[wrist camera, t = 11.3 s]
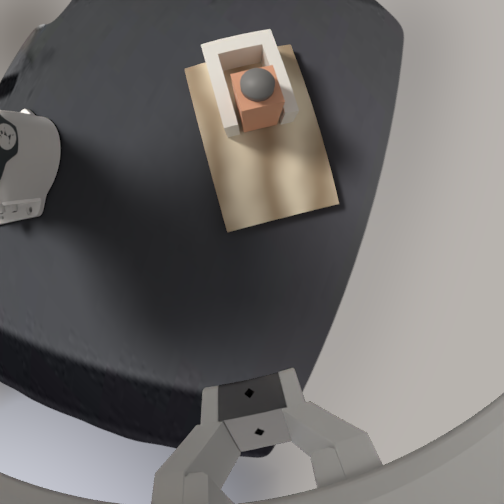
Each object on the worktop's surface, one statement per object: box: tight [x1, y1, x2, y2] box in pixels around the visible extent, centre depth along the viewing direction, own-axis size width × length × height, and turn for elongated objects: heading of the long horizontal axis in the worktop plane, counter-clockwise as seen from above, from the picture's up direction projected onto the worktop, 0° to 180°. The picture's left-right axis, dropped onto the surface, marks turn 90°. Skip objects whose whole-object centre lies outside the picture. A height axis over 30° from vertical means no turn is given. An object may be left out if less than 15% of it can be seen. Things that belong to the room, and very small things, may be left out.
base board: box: [185, 45, 339, 232], centre depth 33 cm, size 14×22×2 cm, turn 15°
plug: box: [230, 65, 285, 133], centre depth 27 cm, size 4×4×10 cm
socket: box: [201, 29, 299, 137], centre depth 29 cm, size 8×11×5 cm
